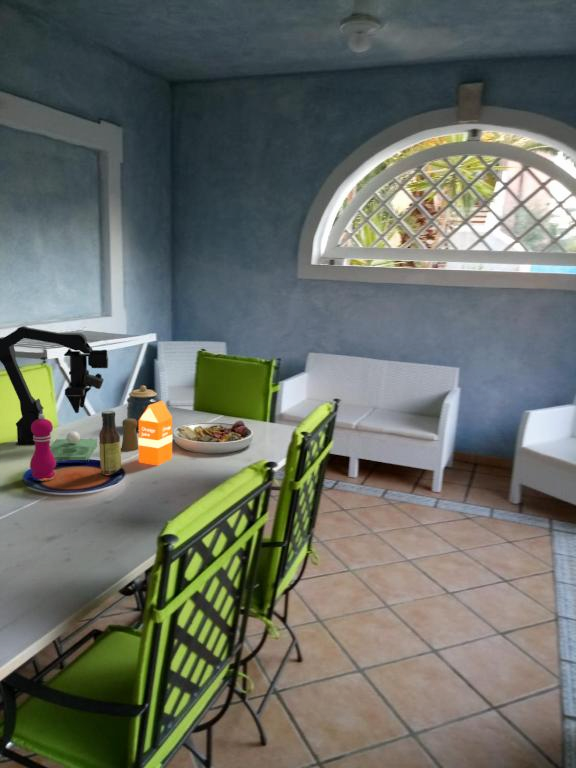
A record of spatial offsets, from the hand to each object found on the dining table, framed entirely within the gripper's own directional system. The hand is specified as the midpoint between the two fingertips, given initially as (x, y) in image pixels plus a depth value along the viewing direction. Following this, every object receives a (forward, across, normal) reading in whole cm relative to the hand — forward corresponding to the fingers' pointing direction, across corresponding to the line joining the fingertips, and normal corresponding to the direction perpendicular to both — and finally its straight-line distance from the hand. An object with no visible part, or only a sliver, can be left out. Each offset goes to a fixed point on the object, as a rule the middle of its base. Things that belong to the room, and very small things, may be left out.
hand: (79, 410), depth 210 cm
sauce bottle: (+12, -36, -16) cm, 41 cm away
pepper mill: (+12, -40, +3) cm, 42 cm away
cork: (+12, -9, -19) cm, 24 cm away
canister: (+12, +21, -21) cm, 32 cm away
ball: (+7, -12, 0) cm, 14 cm away
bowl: (+13, -3, -49) cm, 51 cm away
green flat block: (+12, -16, 0) cm, 20 cm away
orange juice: (+12, -23, -29) cm, 39 cm away
